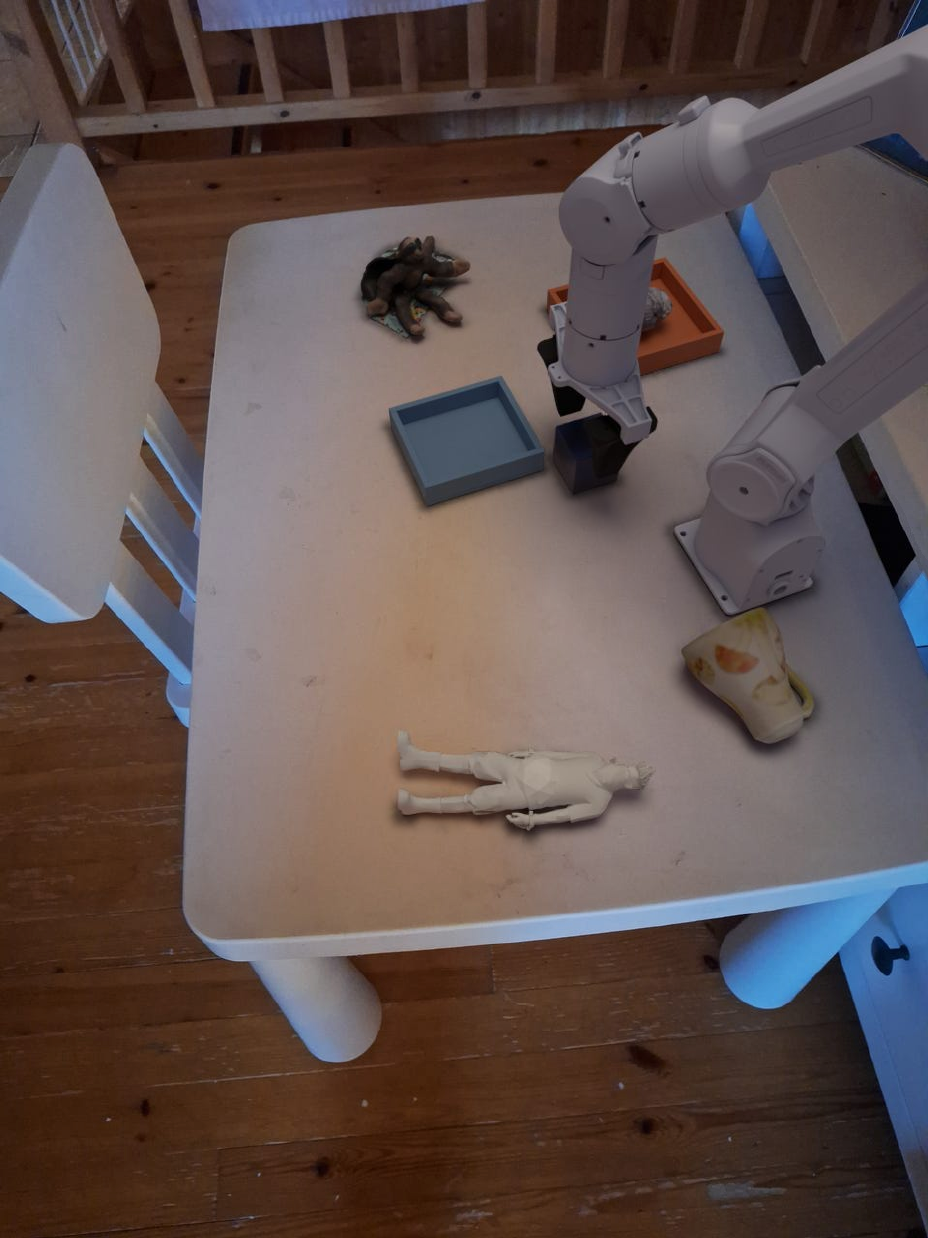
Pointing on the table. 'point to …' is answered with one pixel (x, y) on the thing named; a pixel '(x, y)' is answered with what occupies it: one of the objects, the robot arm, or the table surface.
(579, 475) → the blue block
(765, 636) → the mug
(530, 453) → the blue tray
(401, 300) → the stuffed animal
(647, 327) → the grey curved piece
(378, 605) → the table surface
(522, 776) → the figurine
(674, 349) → the terracotta tray
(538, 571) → the table surface
